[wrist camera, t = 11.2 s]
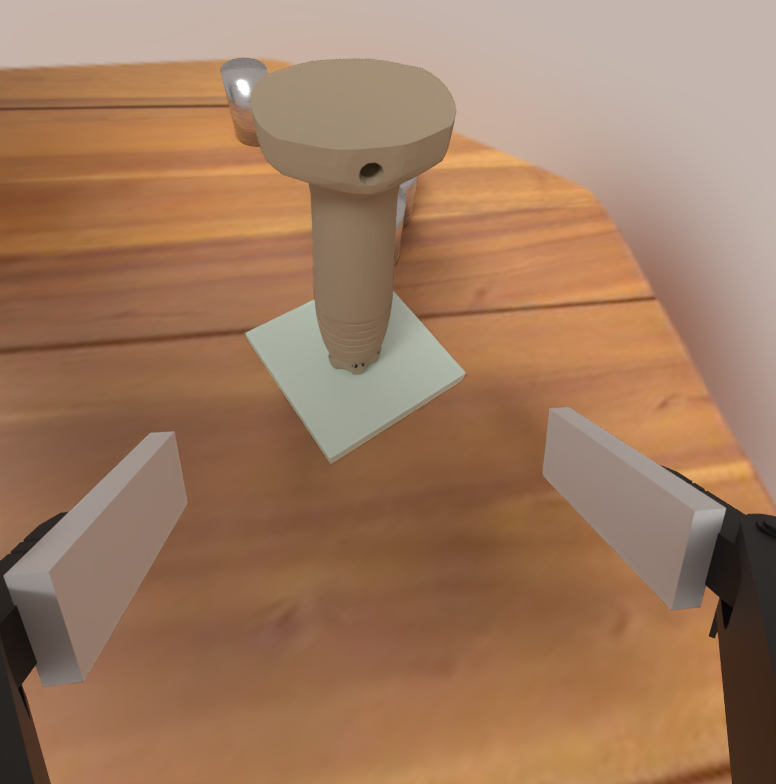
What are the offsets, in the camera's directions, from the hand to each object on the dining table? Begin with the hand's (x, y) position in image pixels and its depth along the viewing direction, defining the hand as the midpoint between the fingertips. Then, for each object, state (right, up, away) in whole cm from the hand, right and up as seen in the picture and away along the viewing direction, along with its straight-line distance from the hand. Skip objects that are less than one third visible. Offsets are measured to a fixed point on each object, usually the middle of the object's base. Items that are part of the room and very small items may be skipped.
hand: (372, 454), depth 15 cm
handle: (-2, +4, +12) cm, 13 cm away
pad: (-2, +4, +13) cm, 13 cm away
